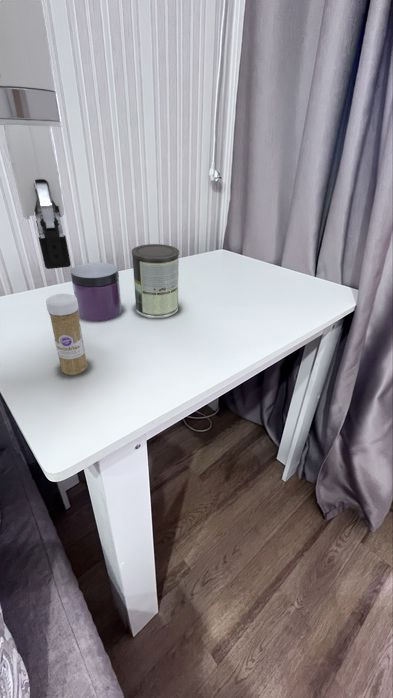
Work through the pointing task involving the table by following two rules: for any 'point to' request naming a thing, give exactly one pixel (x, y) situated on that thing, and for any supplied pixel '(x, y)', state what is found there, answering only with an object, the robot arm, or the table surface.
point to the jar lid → (94, 274)
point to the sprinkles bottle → (67, 333)
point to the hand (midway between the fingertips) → (55, 256)
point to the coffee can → (156, 280)
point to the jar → (98, 301)
